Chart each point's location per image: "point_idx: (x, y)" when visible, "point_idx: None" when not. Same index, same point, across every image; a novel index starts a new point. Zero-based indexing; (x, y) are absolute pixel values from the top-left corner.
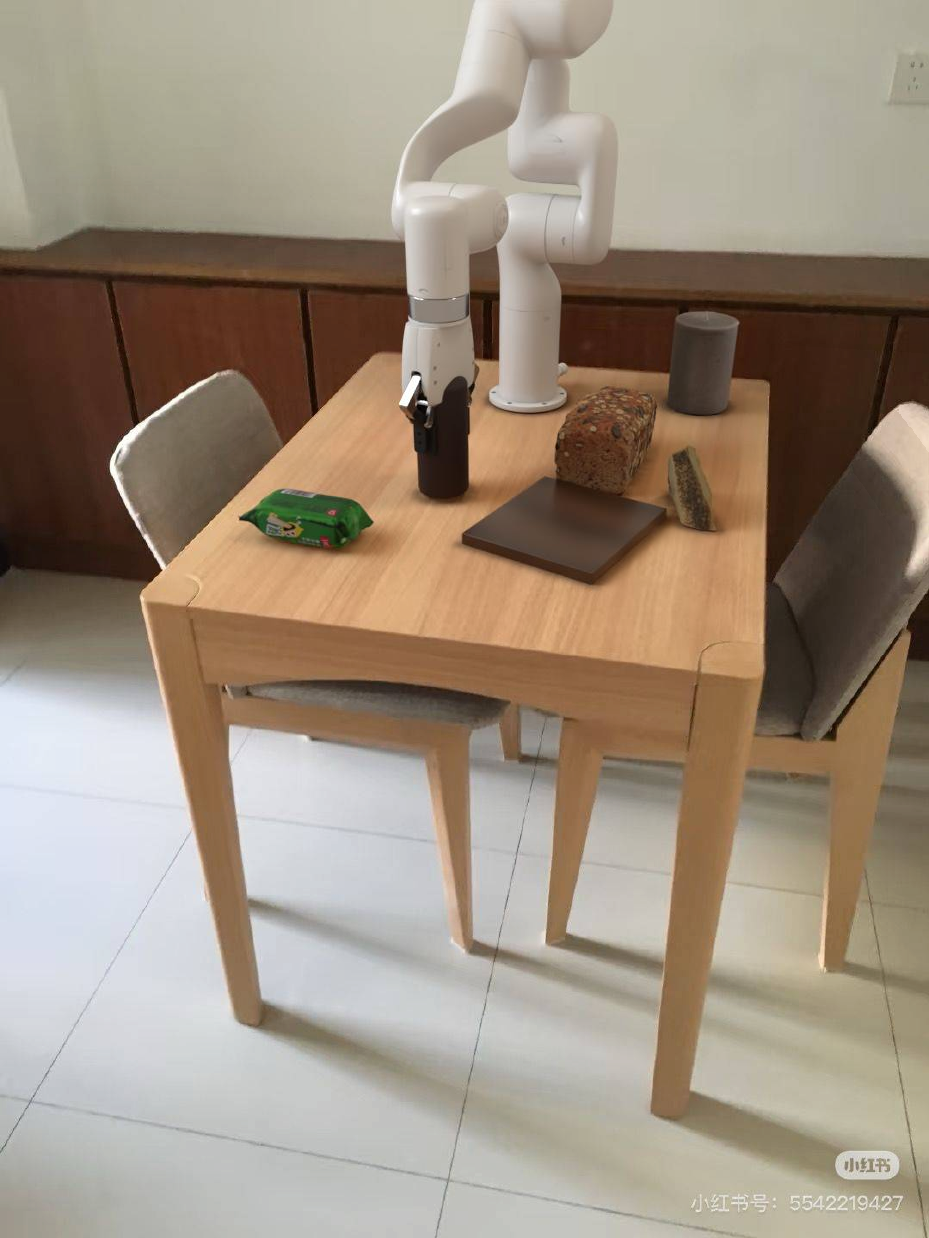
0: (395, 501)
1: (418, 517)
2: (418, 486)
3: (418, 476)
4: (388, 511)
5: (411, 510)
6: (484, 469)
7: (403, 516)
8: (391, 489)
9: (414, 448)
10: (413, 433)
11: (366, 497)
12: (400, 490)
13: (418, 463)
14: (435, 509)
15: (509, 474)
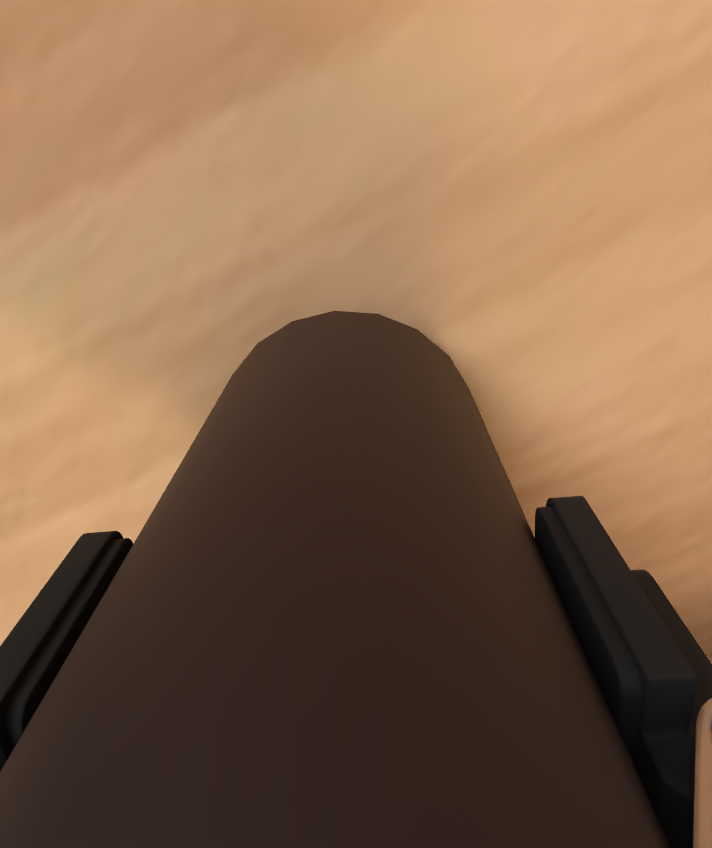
0: (119, 300)
1: (93, 487)
2: (255, 346)
3: (231, 383)
4: (23, 349)
5: (114, 423)
6: (692, 399)
7: (47, 434)
8: (201, 177)
9: (80, 541)
10: (15, 626)
11: (29, 135)
12: (227, 227)
13: (195, 438)
14: None
15: (693, 516)
